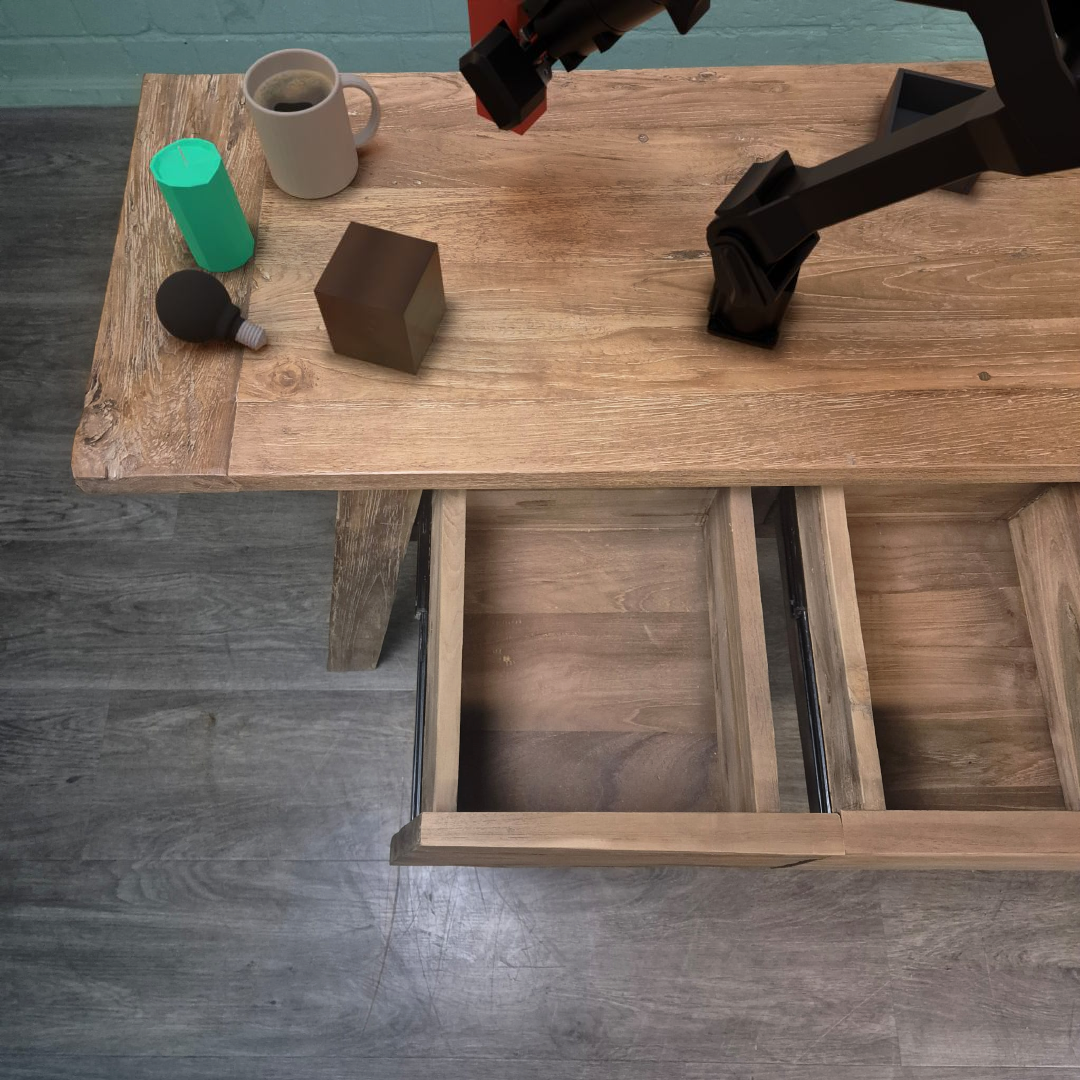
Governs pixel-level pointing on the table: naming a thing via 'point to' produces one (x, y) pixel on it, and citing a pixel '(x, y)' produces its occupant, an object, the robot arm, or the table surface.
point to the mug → (306, 121)
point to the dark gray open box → (925, 106)
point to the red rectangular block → (496, 3)
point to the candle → (204, 203)
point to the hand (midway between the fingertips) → (498, 66)
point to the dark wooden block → (382, 297)
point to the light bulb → (203, 311)
